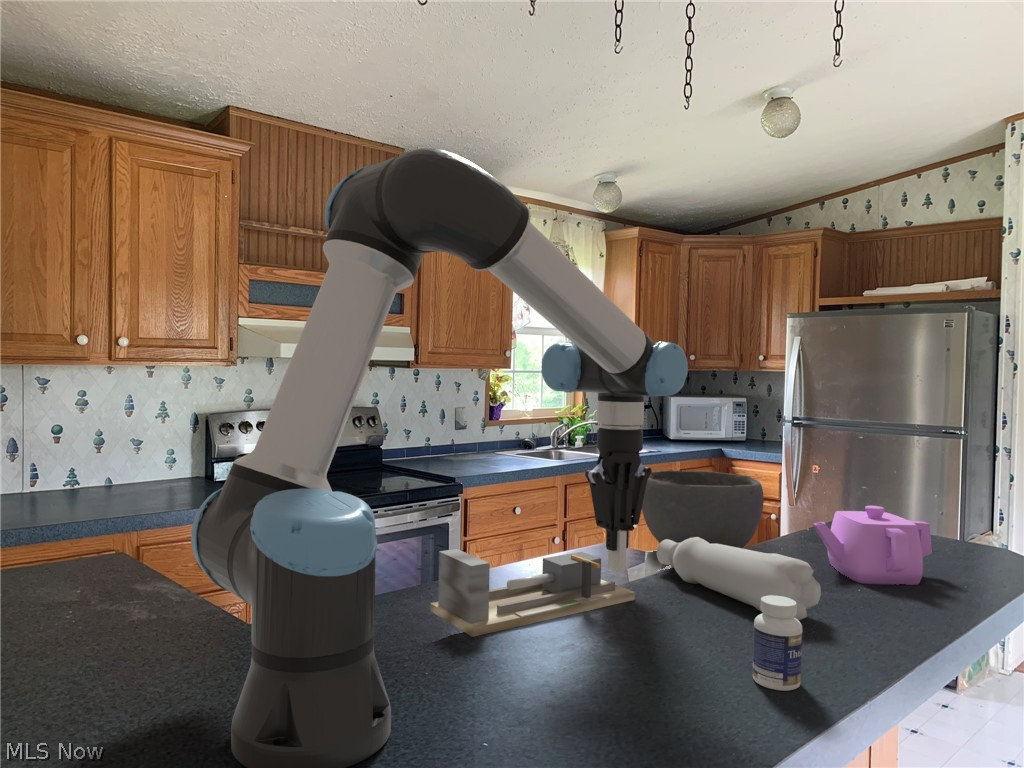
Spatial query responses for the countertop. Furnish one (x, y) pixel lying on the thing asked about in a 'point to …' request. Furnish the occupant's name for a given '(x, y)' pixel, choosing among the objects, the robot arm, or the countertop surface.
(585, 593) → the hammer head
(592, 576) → the sliding vise jaw
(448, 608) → the bench vise
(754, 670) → the pill bottle
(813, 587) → the bottle
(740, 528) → the bowl
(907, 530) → the teakettle
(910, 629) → the countertop surface
